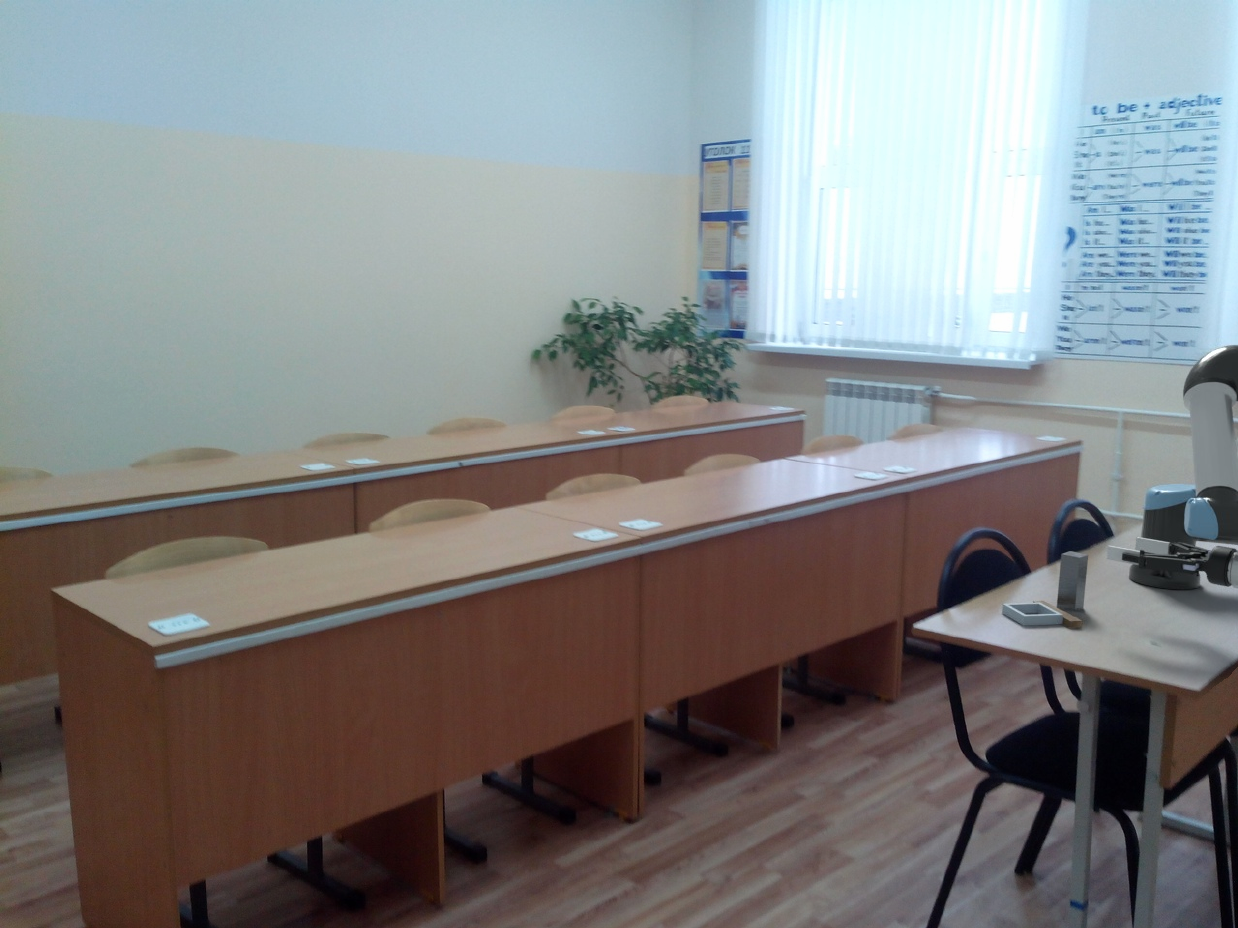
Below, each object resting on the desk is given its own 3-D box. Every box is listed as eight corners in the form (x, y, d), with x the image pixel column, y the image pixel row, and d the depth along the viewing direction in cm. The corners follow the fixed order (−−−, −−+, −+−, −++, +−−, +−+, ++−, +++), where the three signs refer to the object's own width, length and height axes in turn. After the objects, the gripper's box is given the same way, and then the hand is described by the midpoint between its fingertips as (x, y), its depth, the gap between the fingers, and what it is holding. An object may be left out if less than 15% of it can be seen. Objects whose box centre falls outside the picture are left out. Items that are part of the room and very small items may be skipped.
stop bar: (1065, 604, 231) (1070, 551, 229) (1083, 608, 228) (1088, 554, 226) (1056, 607, 228) (1061, 553, 226) (1074, 611, 225) (1079, 557, 223)
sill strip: (1043, 607, 228) (1043, 600, 228) (1081, 627, 215) (1081, 620, 214) (1032, 607, 228) (1033, 601, 227) (1070, 628, 214) (1070, 621, 214)
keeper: (1039, 611, 225) (1039, 602, 225) (1062, 623, 217) (1063, 614, 216) (1002, 612, 224) (1002, 603, 223) (1023, 625, 215) (1024, 616, 215)
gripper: (1207, 597, 194) (1093, 574, 210) (1255, 577, 211) (1146, 557, 227) (1212, 558, 193) (1097, 537, 209) (1259, 540, 210) (1149, 522, 225)
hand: (1122, 547), depth 218 cm, fingers open, 13 cm apart
